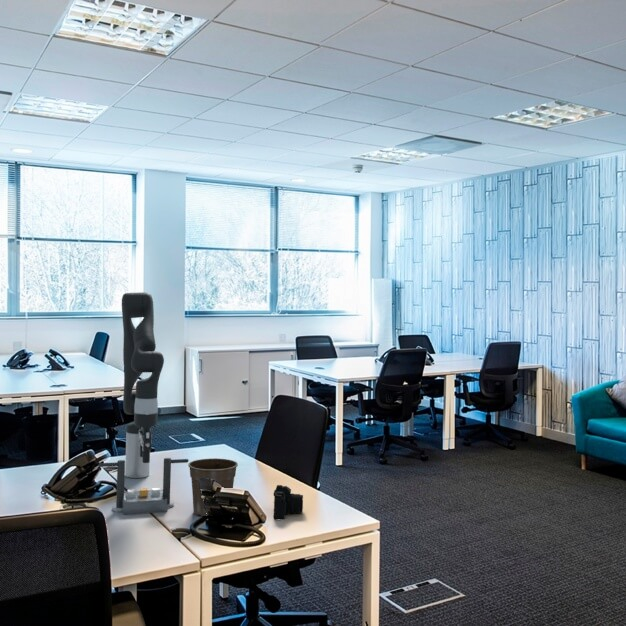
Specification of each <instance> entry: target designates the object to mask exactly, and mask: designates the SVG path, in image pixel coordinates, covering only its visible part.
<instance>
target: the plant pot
mask: <svg viewBox="0 0 626 626" xmlns="http://www.w3.org/2000/svg"><path fill="white" fill-rule="evenodd" d="M187 465H188V468H189V476H190V478H191V489H192V506H193V507H192V508H193V514H194V515H197V516H202V517H203V516H206V515H207V514H206V512H205V510H204V506H203V504H204V501H203V499H202V498H201V490H200V489H199V481H200V479H201V478H209V479H213V480H215V481H217V482H218V483H220V484H221V485H222V487H224V488H233V489H234V482H235V477H236V471H237V467H238V466H239V463H238V462H237V461H235V460H232V459H226V458H212V457H211V458H202V459H196V460H192V461H190V462H188V464H187Z"/></svg>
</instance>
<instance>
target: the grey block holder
mask: <svg viewBox="0 0 626 626" xmlns="http://www.w3.org/2000/svg"><path fill="white" fill-rule="evenodd" d="M166 512H168V508H167V497H166V495H163V488H162V489H161V488H160V487H152V488H151V490H150V489H149V490H148V496H143V497H140V490H136V489H133V488H132V489H127V491H124V497H123V498H122V515H123V516H127V515H137V514H138V515H140V514H152V513H153V514H154V513H166Z"/></svg>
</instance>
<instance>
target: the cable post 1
mask: <svg viewBox="0 0 626 626" xmlns="http://www.w3.org/2000/svg"><path fill="white" fill-rule="evenodd" d="M125 462H126V459H125V460H124V459H120V460H117V462H99V464H98V467H100V468H105V467H106V468H107V467H116V468H117V469H116V470H117V473H116V501H115V504H116V505H113V506H112V507H111V510H112V512H115V513H117V512H118V513H120V512H122V498H123V497H124V492H125V477H126V476H125Z"/></svg>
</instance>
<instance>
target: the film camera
mask: <svg viewBox="0 0 626 626" xmlns="http://www.w3.org/2000/svg"><path fill="white" fill-rule="evenodd" d="M273 498H274V499H273V516H272V517H273V519H274V520H276V519H282V520H284V519H285V517H286V515H287V514H286V513H289V514H300V513H303V509H304V500H303V499H304V495H303V494H300V493H292V489H291V488H290V487H289V486H288V485H282V484H277V485H276V488H275V489H274V491H273Z"/></svg>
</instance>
